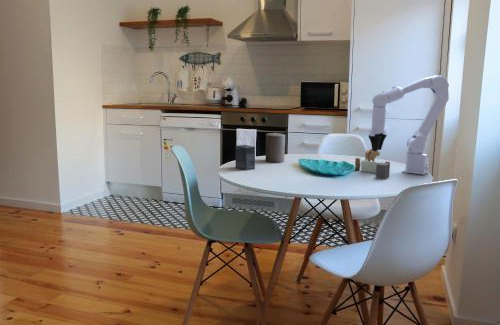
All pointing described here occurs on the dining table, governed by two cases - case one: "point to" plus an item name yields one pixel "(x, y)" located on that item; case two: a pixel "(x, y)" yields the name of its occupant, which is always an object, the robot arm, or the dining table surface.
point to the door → (368, 166)
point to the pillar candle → (275, 147)
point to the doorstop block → (382, 170)
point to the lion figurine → (371, 155)
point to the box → (245, 157)
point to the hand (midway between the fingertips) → (376, 150)
